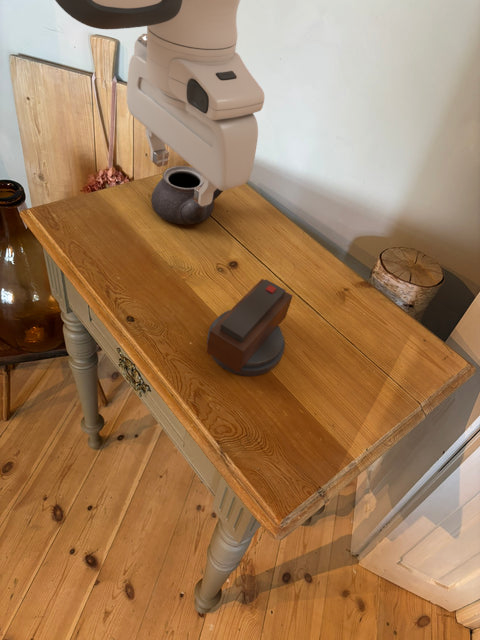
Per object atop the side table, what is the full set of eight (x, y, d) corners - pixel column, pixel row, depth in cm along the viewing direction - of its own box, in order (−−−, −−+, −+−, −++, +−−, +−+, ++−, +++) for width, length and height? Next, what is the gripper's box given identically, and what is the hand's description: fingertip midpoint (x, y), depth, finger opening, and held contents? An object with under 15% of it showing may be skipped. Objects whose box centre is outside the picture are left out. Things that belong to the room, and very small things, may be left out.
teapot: (170, 244, 86) (173, 198, 78) (142, 197, 94) (142, 151, 87) (257, 226, 93) (267, 183, 86) (224, 185, 102) (230, 142, 94)
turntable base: (191, 348, 70) (192, 342, 69) (234, 305, 78) (236, 299, 77) (257, 390, 67) (259, 384, 66) (295, 341, 74) (298, 335, 73)
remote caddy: (252, 386, 65) (262, 355, 60) (190, 347, 68) (194, 313, 63) (298, 329, 74) (310, 297, 68) (241, 296, 77) (249, 263, 72)
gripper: (111, 28, 50) (115, 147, 60) (226, 111, 41) (208, 234, 52) (160, 25, 54) (156, 138, 64) (276, 102, 45) (250, 219, 55)
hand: (180, 182), depth 58 cm, fingers open, 8 cm apart
